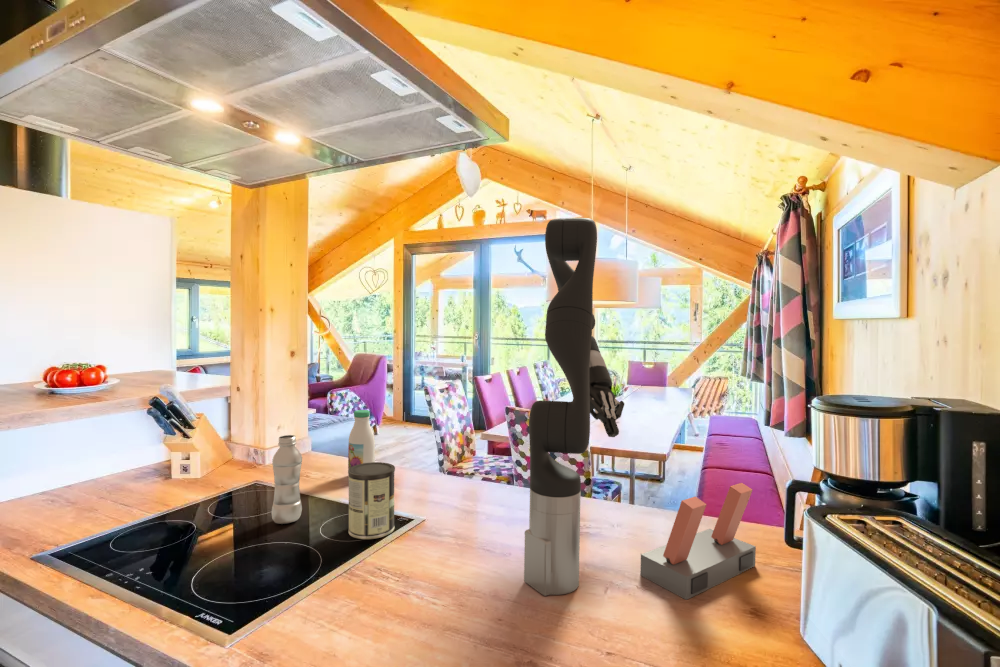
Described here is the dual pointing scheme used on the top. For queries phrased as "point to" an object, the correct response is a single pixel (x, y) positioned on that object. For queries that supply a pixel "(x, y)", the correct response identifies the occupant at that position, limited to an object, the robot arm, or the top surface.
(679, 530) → the rocker near
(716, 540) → the block
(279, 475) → the plastic bottle
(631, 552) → the top surface
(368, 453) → the milk bottle
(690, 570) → the grey switch base
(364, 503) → the coffee can
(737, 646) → the top surface
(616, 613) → the top surface
